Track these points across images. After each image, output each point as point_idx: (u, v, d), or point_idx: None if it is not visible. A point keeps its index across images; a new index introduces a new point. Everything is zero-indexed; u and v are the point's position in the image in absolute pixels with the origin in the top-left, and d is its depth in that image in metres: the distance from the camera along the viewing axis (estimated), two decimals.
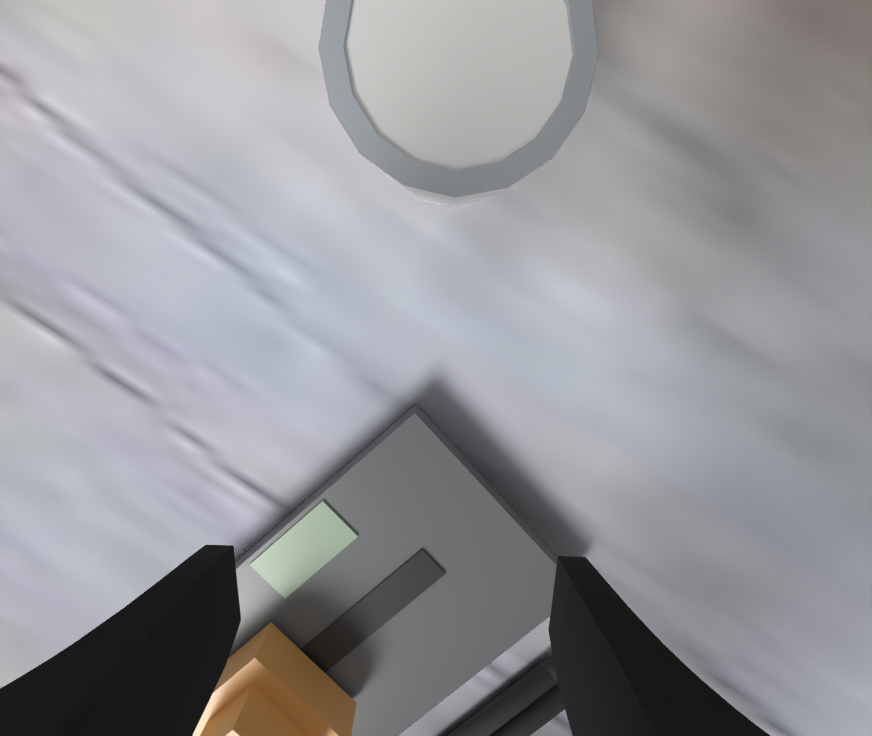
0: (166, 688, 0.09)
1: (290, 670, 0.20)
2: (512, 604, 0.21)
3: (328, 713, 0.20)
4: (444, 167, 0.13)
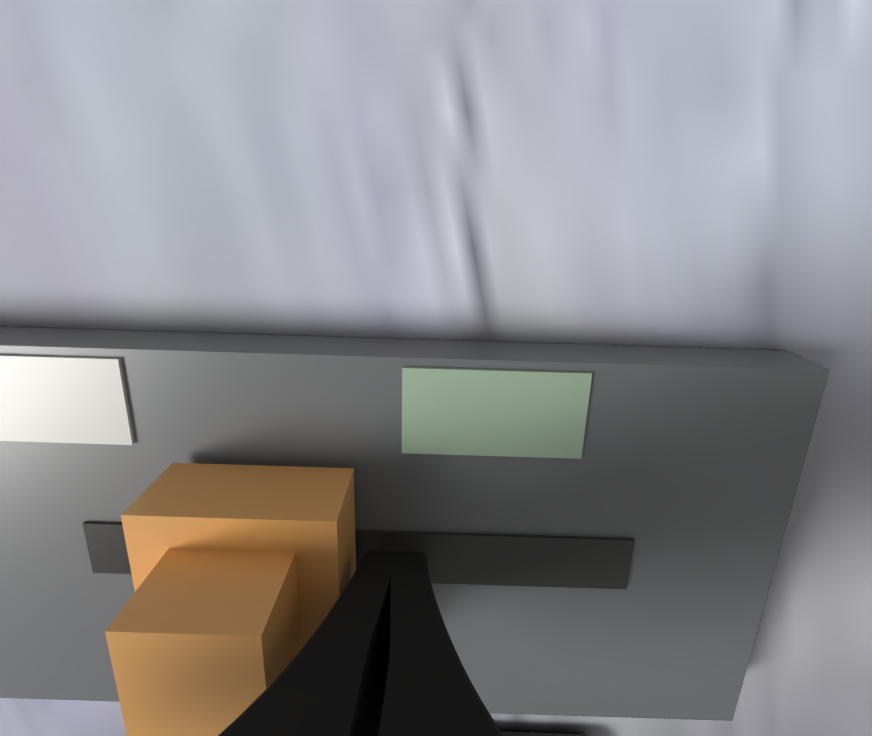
0: (373, 695, 0.09)
1: (345, 564, 0.11)
2: (650, 677, 0.14)
3: None
4: None
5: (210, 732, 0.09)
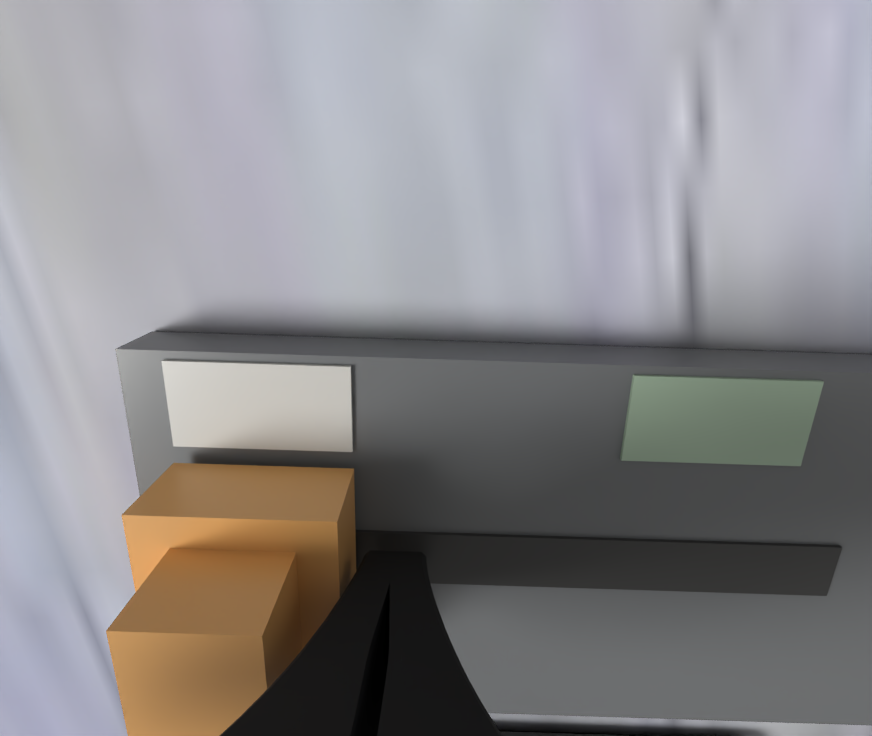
0: (374, 695, 0.09)
1: (346, 564, 0.11)
2: (836, 684, 0.14)
3: None
4: None
5: (211, 731, 0.09)
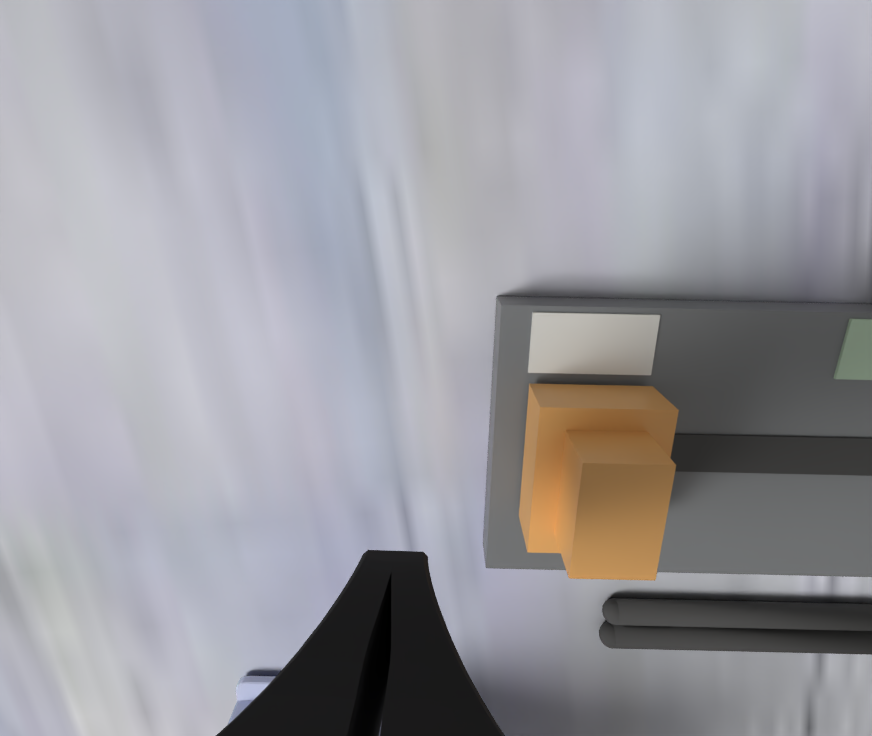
0: (372, 695, 0.09)
1: None
2: None
3: None
4: None
5: (625, 532, 0.14)
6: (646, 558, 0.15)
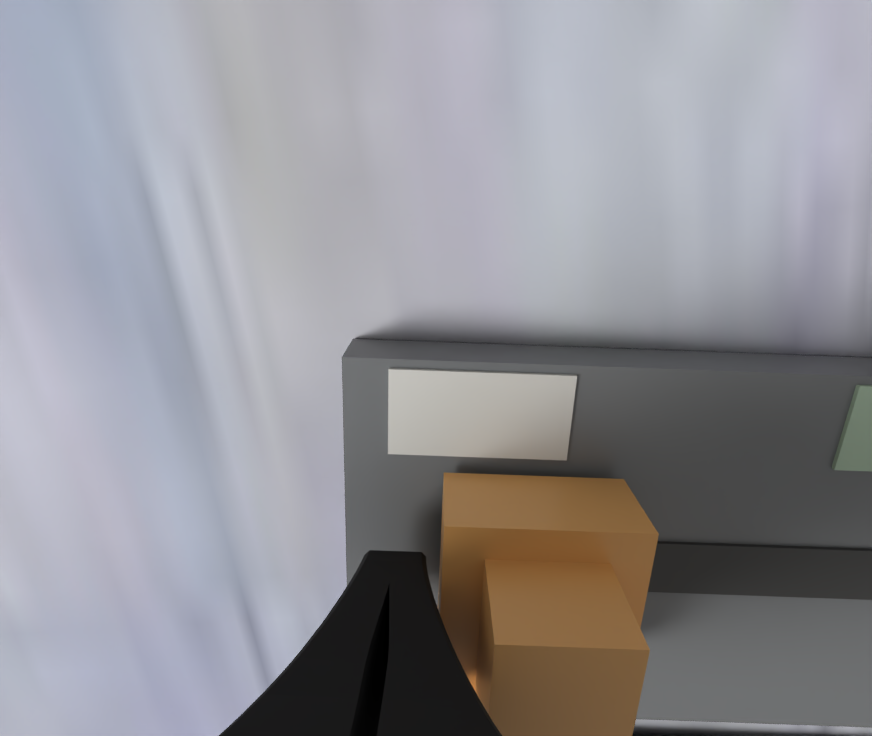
0: (374, 695, 0.09)
1: None
2: None
3: None
4: None
5: None
6: None
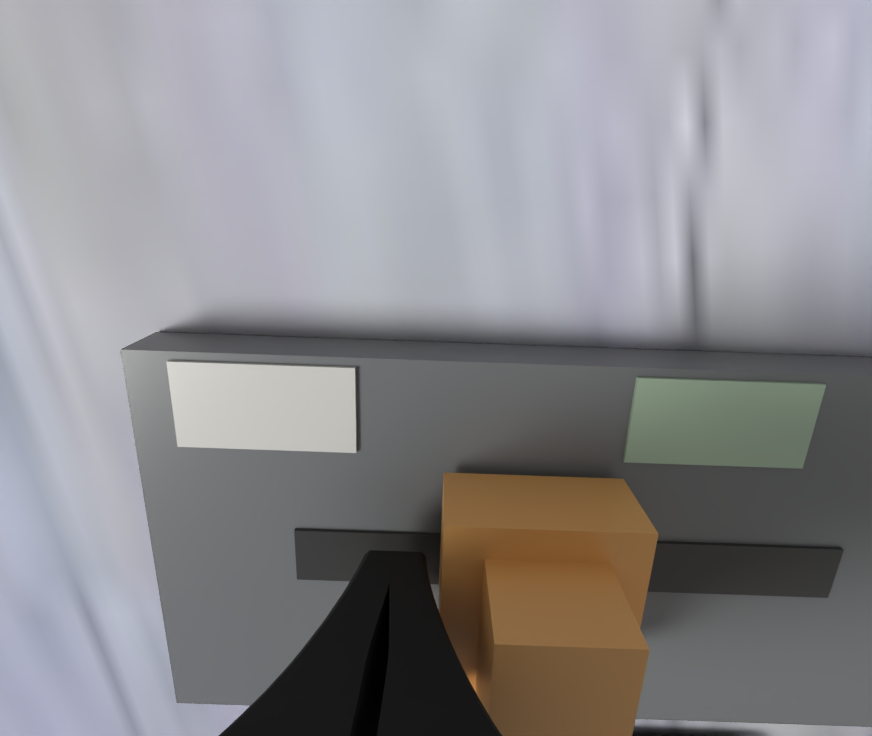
0: (374, 695, 0.09)
1: None
2: (837, 685, 0.14)
3: None
4: None
5: None
6: None
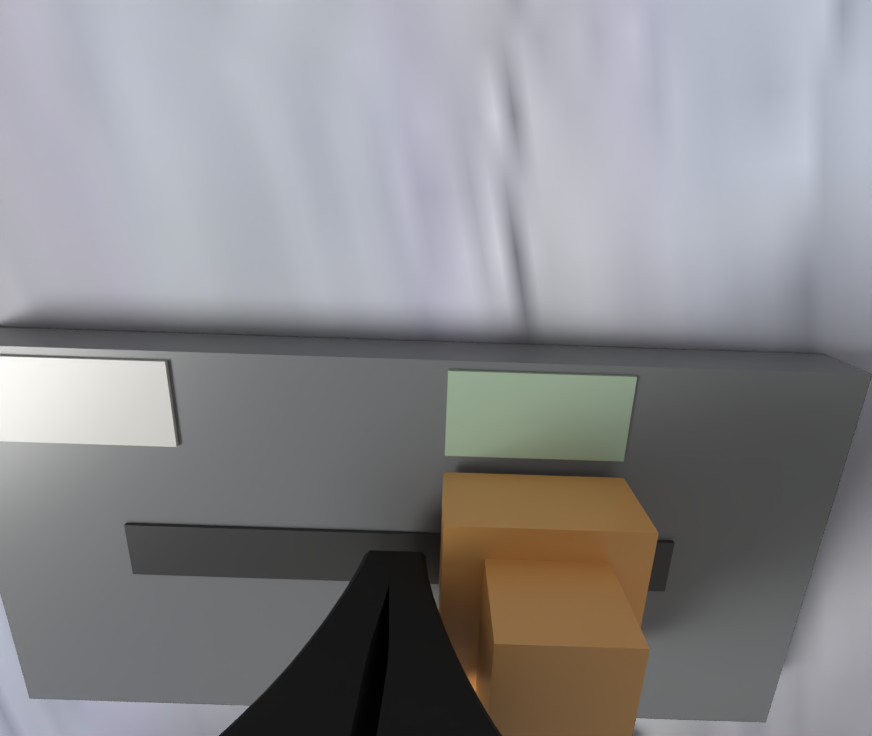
0: (374, 695, 0.09)
1: None
2: (685, 679, 0.14)
3: None
4: None
5: None
6: None
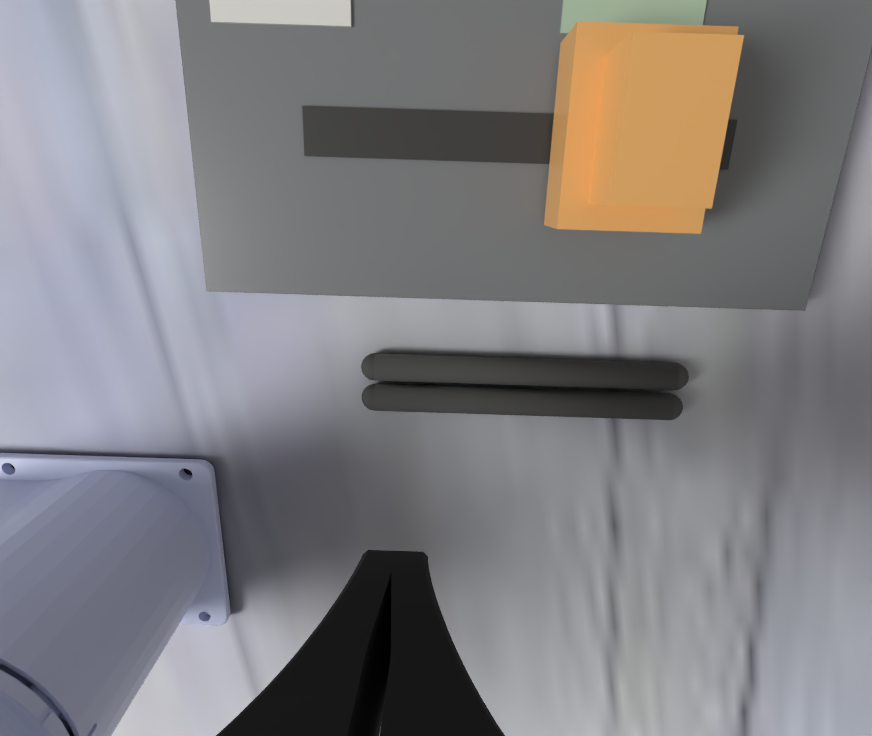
0: (372, 695, 0.09)
1: None
2: (741, 265, 0.17)
3: None
4: None
5: (679, 138, 0.12)
6: (702, 175, 0.12)
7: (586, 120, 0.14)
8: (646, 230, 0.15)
